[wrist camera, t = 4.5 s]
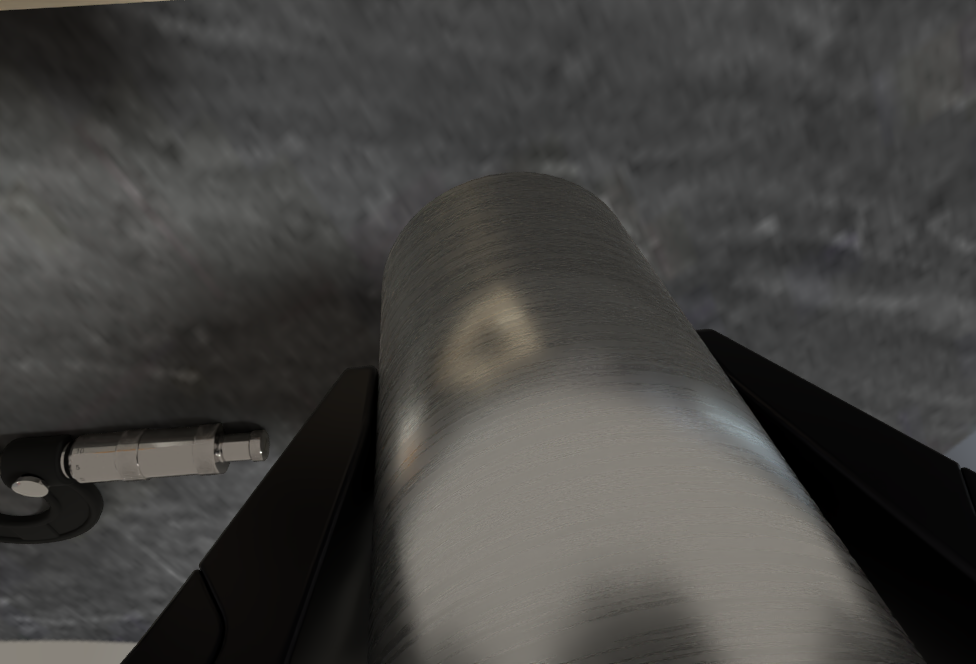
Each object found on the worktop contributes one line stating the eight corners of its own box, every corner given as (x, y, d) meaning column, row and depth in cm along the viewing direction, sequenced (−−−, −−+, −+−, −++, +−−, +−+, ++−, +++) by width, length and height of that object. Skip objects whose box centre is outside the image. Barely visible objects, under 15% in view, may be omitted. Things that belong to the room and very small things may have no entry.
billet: (619, 374, 11) (894, 959, 5) (399, 399, 11) (402, 1056, 5) (649, 161, 9) (1288, 819, 2) (361, 184, 8) (253, 1018, 2)
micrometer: (-30, 540, 27) (-65, 591, 25) (-123, 436, 23) (-173, 487, 21) (295, 512, 29) (287, 557, 27) (265, 409, 25) (252, 454, 23)
